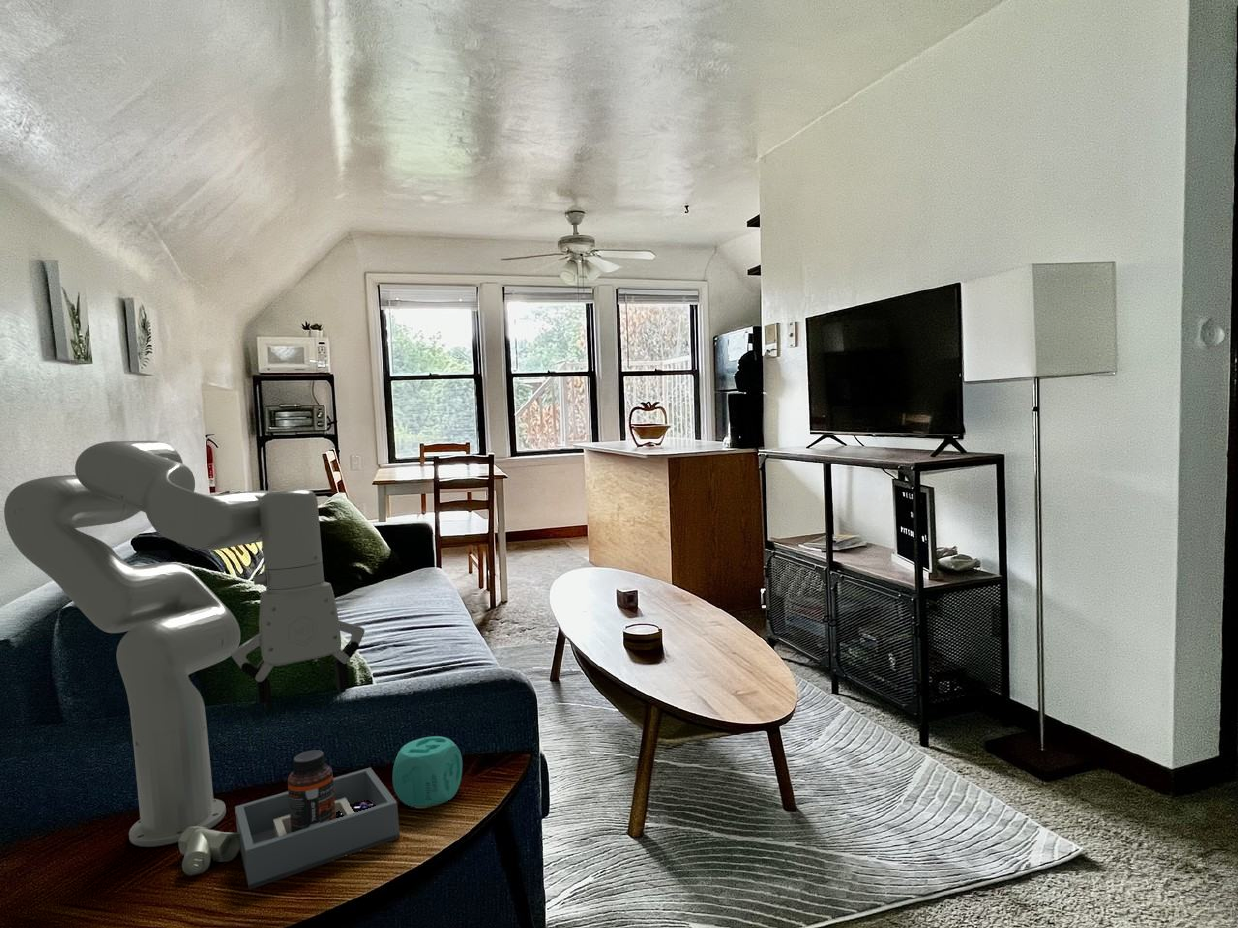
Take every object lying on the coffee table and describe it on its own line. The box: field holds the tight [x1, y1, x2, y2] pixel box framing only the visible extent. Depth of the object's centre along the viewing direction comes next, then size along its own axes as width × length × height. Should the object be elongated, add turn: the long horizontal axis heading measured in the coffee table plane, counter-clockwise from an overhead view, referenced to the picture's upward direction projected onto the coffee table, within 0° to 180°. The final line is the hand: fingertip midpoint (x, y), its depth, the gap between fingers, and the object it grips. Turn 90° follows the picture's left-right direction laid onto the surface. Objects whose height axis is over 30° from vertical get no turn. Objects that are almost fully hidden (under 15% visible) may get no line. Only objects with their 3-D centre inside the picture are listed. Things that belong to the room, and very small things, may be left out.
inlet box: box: [234, 766, 401, 891], centre depth 104 cm, size 15×19×5 cm
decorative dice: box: [391, 735, 463, 808], centre depth 115 cm, size 8×8×8 cm
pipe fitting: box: [177, 826, 240, 876], centre depth 101 cm, size 8×4×7 cm
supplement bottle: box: [287, 749, 336, 832], centre depth 105 cm, size 6×6×11 cm
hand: (305, 698), depth 104 cm, fingers open, 9 cm apart
